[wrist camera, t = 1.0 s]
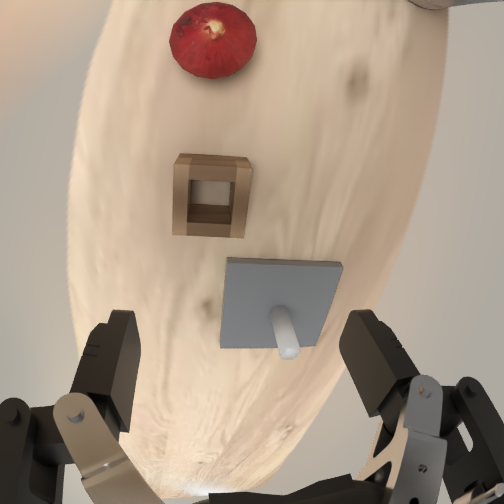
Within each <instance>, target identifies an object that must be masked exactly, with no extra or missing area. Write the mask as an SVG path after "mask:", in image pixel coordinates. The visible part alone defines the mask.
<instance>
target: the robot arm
mask: <svg viewBox="0 0 504 504" xmlns="http://www.w3.org/2000/svg"><path fill="white" fill-rule="evenodd" d="M410 1H411V2H413V3H414V4H416V5H418V6H421V7H423V8H427V9H440V8H446V7H452V6H457V5H466V4H474V3H484V2H497V1H504V0H410ZM339 349H340V353H341V355H342V357H343V360H344V362H345V364H346V366H347V368H348V370H349V372H350V375H351V377H352V379H353V381H354V384H355V386H356V388H357V390H358V393H359V395H360V397H361V399H362V402H363V404H364V406H365V408H366V411H367V413H368V415H369V417H374V416H378V415H381V417H382V420H381V421H380V423H379V426H378V429H377V432H376V436H375V439H374V442H373V445H372V448H371V451H370V454H369V457H368V459H367V462H366V463H365V465H364V467H363V468H362V469H361V471H360V472H359V474H358V476H357V478H356V480H352V477H351V474H346V475H343V476H339V477H335V478H331V479H326V480H322V481H318V482H316V483H314V484H312V485H309V486H307V487H305V488H303V489H300V490H298V491H296V492H293V493H291V494H288V495H271V494H260V493H251V492H234V493H209V499H206V500H202V501H199V502H196V503H193V504H436V503H437V499H438V495H439V490H440V486H441V481H442V478H443V480H444V483H445V486H446V488H447V491H448V494H449V497H450V499H451V502H452V504H504V423H503V421H502V420H501V418H500V416H499V414H498V412H497V410H496V409H495V407H494V405H493V403H492V402H491V400H490V398H489V397H488V395H487V393H486V392H485V390H484V388H483V387H482V385H481V384H480V383H479V382H478V381H477V380H475V379H474V378H472V377H463V378H462V379H461V380H460V381H459V382H458V384H457V385H456V386H441V385H440V384H439V383H438V381H436V380H435V379H434V378H432V377H430V376H428V375H421V374H420V373H419V371H418V370H417V368H416V367H415V365H414V363H413V362H412V360H411V359H410V357H409V356H408V354H407V352H406V351H405V349H404V348H402V345H401V343H400V342H399V340H397V337H396V336H395V334H394V333H393V331H392V330H391V328H389V327H388V326H387V325H386V324H385V323H383V322H382V321H379V320H378V319H377V317H376V316H375V314H374V313H373V311H372V310H370V309H366V310H353V311H351V312H350V314H349V316H348V319H347V322H346V324H345V327H344V330H343V332H342V335H341V337H340V341H339ZM140 356H141V344H140V338H139V333H138V328H137V323H136V318H135V313H134V311H129V310H113V311H112V312H111V315H110V318H109V321H108V323H107V324H106V323H99V324H98V325H97V326H96V327H95V328H94V329H93V330H92V331H91V332H90V335H89V337H88V340H87V343H86V346H85V348H84V351H83V356H82V357H81V360H80V362H79V365H78V368H77V372H76V374H75V378H74V381H73V384H72V387H71V390H70V392H69V394H66V395H64V396H62V397H61V398H60V399H59V400H58V401H57V402H56V404H55V405H52V406H45V407H33V408H29V406H28V405H27V404H26V403H25V402H24V401H23V400H21V399H19V398H9V399H6V400H4V401H3V402H2V403H1V404H0V504H62V496H63V481H64V468H65V464H73V463H75V464H76V466H77V468H78V469H79V471H80V473H81V476H82V478H81V481H82V484H83V486H84V488H85V490H86V492H87V493H88V495H89V497H90V498H91V500H92V501H93V503H94V504H165V503H164V502H163V501H162V500H161V499H160V498H159V497H158V495H157V494H156V493H155V492H154V491H153V489H152V488H151V487H150V486H149V484H148V483H147V482H146V481H145V479H144V478H143V477H142V476H141V474H140V473H139V472H138V470H137V469H136V468H135V466H134V465H133V463H132V462H131V461H130V459H129V458H128V456H127V455H126V454H125V452H124V451H123V449H122V448H121V446H120V445H119V443H118V442H119V434H120V432H127V433H129V430H130V421H131V414H132V406H133V399H134V392H135V386H136V380H137V374H138V368H139V362H140ZM462 422H464V424H465V426H466V428H467V430H468V432H469V434H470V436H471V438H472V440H473V448H472V450H471V451H470V452H469V451H468V450H467V447H466V445H465V443H464V441H463V439H462V437H461V435H460V432H459V430H458V428H457V427H458V426H459V425H460V424H461V423H462Z"/></svg>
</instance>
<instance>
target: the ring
mask: <svg viewBox="0 0 504 504" xmlns="http://www.w3.org/2000/svg"><path fill="white" fill-rule="evenodd" d="M252 170H253V169H252V167H251V165H250V163H249V161H248V159H247V158H245V157H233V156H219V155H203V154H181V153H180V155H179V156H178V158H177V160H176V162H175V163H174V177H173V225H172V235H187V236H208V237H228V238H244V234H245V225H246V217H247V209H248V202H249V194H250V186H251V178H252ZM192 180H210V181H226V182H231V188H230V198H229V206H221V205H203V204H190V202H191V182H192Z"/></svg>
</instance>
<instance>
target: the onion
mask: <svg viewBox="0 0 504 504" xmlns="http://www.w3.org/2000/svg"><path fill="white" fill-rule="evenodd" d="M256 42H257V37H256V31H255V25H254V24H253V23H252V21H251V20H250V18H249V17H248V16H247V14H246V13H245V12H243V11H241V10H240V9H238V8H236V7H235V6H233V5H230V4H225V3H220V2H212V3H203V4H200V5H198V6H196V7H194V8H192V9H190V10H188V11H186V12H184V14H183V15H182V16H181V17H180V18H179V19H178V20H177V22H176V23H175V24H174V25H173V28H172V32H171V36H170V40H169V43H170V47H171V51H172V55H173V57H174V58H175V60H176V61H177V62H178V63H179V65H180V66H181V67H182V68H183V69H184V70H186V71H188V72H189V73H191V74H193V75H195V76H198V77H204V78H209V79H215V78H220V77H225V76H229V75H231V74H233V73H234V72H236V71H238V70H239V69H241V68H243V66H244V65H245V64H246V63H247V62H248V60H249V59H250V58H251V57H252V55H253V52H254V49H255V45H256Z"/></svg>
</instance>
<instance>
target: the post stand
mask: <svg viewBox="0 0 504 504" xmlns="http://www.w3.org/2000/svg"><path fill="white" fill-rule="evenodd" d="M343 268H344V267H343V266H342V264H341V263H340V262H323V261H298V260H274V259H250V258H228V257H227V263H226V275H225V286H224V298H223V310H222V322H221V335H220V348H278V349H279V353H280V357H281V358H283V359H286V360H289V359H293V358H295V357H297V356H298V355H299V354H300V352H301V350H300V347H309V346H316V344H317V341H318V338H319V336H320V333H321V331H322V328H323V325H324V323H325V320H326V317H327V314H328V312H329V309H330V306H331V303H332V300H333V298H334V295H335V292H336V289H337V286H338V283H339V280H340V277H341V274H342V271H343Z"/></svg>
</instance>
